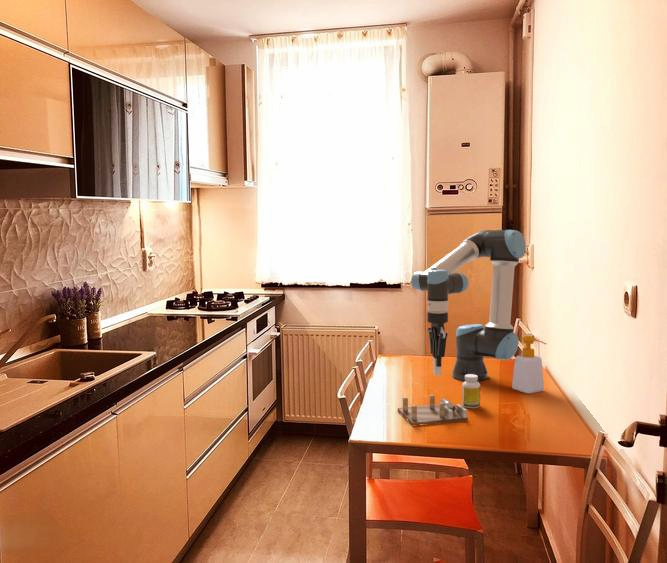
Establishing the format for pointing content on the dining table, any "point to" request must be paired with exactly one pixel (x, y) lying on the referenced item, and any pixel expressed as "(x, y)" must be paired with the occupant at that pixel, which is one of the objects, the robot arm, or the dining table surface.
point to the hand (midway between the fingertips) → (437, 374)
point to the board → (432, 413)
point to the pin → (448, 404)
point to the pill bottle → (471, 391)
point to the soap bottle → (528, 369)
